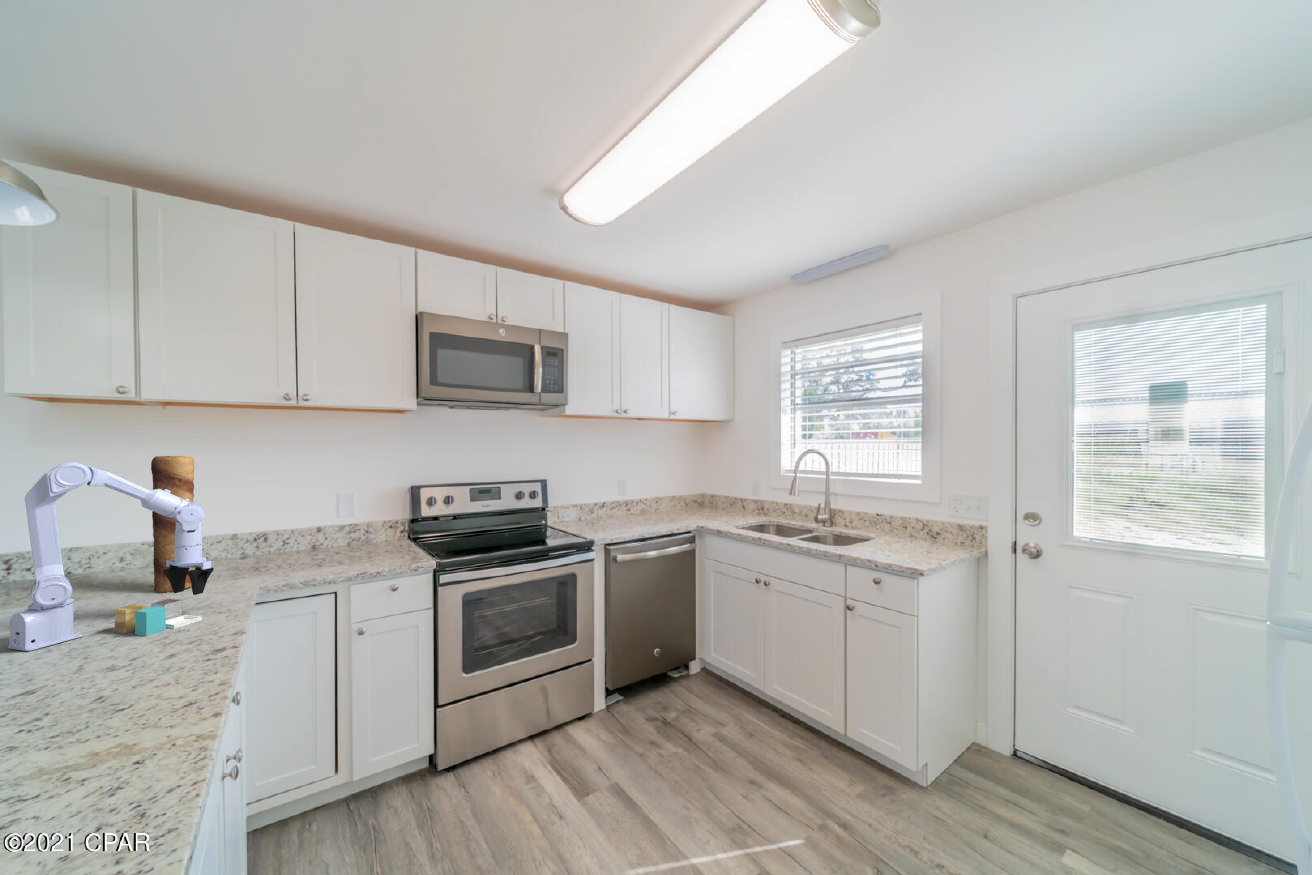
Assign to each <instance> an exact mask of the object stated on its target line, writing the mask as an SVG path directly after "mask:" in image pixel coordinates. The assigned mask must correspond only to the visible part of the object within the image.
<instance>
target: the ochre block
mask: <svg viewBox="0 0 1312 875" xmlns="http://www.w3.org/2000/svg"><path fill="white" fill-rule="evenodd" d="M142 609H146V605H145V604H136V603H135V604H131V605H126V606H122V607H118V608H115V609H114V633H115V634H124V633H126V634H129V633H134V632H135V611H138V610H142Z"/></svg>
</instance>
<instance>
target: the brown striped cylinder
mask: <svg viewBox="0 0 1312 875" xmlns="http://www.w3.org/2000/svg"><path fill="white" fill-rule="evenodd" d="M150 471H151V474H152V475H151V476H152V490H155V489H161V490H163V491H164V489H167V490H169V491H171V492H170V494H173V495H175V496H177V497H180V498H182V499H185V498H186V499H189V502H191V503H193V504H194V498H195V497H194V496H195V495H194V494H195V492H194V490H195V483H194V480H195V479H194V478H195V474H194V473H195V461H194V457H192V456H184V455H183V456H182V455H175V456H174V455H173V456H172V455H163V456H162V455H156V456H154V457H153V458H152V460H151V462H150ZM151 513H152V514H151V516H152V517H151V518H152V536H153V559H152V561H153V563H152V564H153V576H154V578H153V584H154V586H153V587H154V588H153V592H154V593H156V592H158V593H159V594H167V592H170V593H174V592H173V590H172V587H171V584H170V581H169V579H168V578H167V576H166V575H165V574H164V573H163V570H165V569H169V568H170V567H166V560H171V559H175V530H176V522H179V521H176V520H175V519H174V518H173V517H166V516H164V515H161V514H159V513H156V512H154V511H152V512H151ZM190 570H194V568H189V570H188V571H190ZM189 588H192V585H191V580H190V578H189V576H188V574H187V576H186V581H185V589H184V590H187V589H189Z"/></svg>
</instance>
